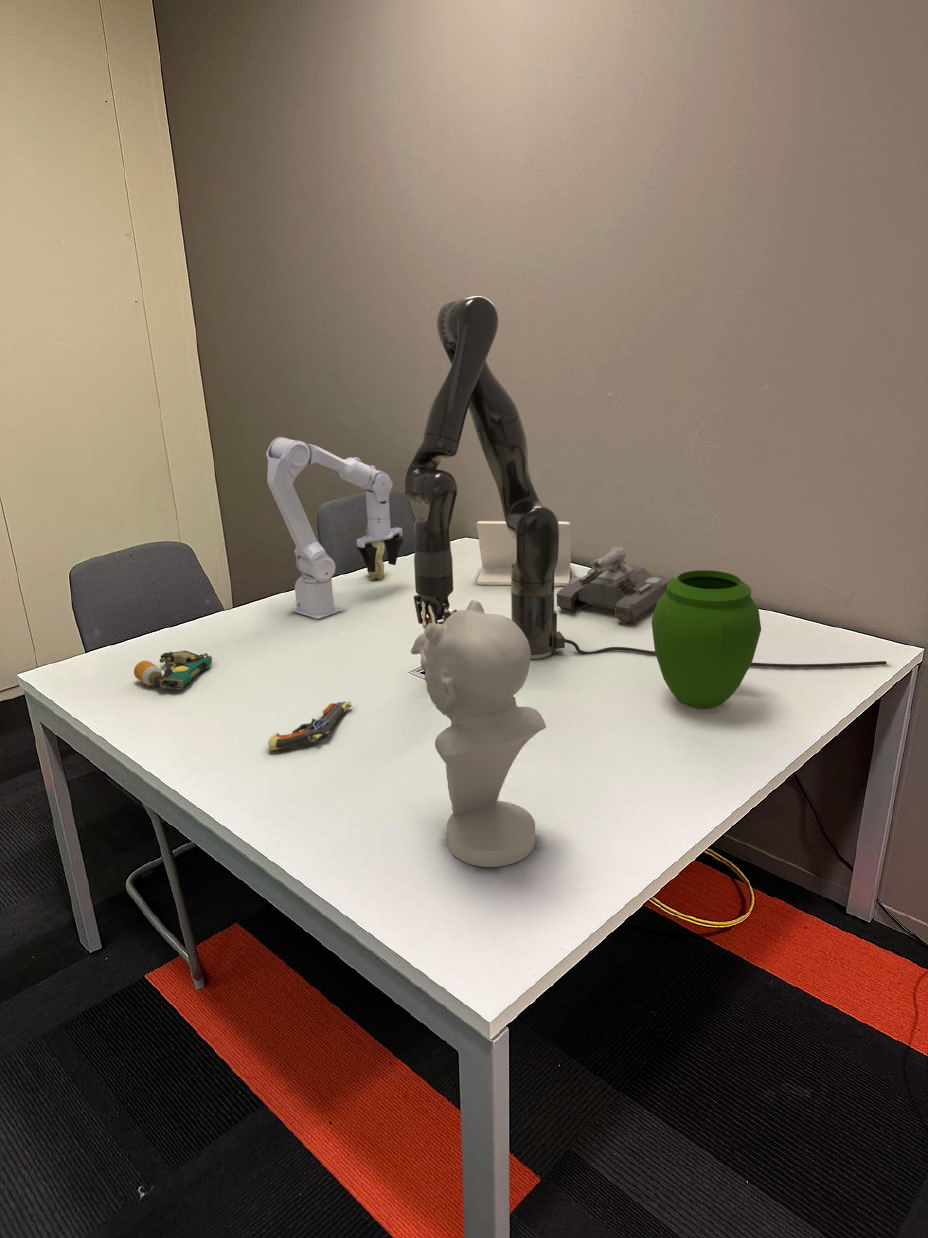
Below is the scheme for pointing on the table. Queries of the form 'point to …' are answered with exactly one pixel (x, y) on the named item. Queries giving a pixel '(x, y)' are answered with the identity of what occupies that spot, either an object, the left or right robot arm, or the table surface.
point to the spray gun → (172, 669)
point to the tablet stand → (514, 553)
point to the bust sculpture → (481, 729)
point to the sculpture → (377, 559)
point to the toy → (614, 588)
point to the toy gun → (311, 727)
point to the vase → (705, 636)
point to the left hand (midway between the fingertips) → (381, 567)
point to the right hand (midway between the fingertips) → (437, 649)
